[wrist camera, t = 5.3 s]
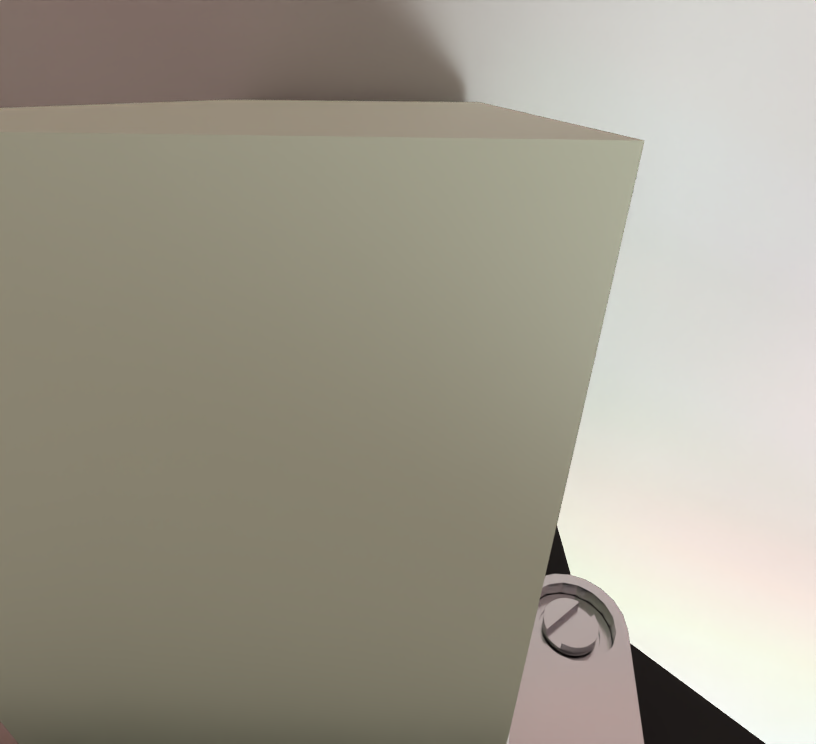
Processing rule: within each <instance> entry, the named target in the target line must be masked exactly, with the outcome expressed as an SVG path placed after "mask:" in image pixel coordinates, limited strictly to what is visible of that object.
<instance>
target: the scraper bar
mask: <svg viewBox="0 0 816 744" xmlns="http://www.w3.org/2000/svg"><path fill="white" fill-rule="evenodd" d="M643 145H644V140H640V139H636V138H631V137H627V136H623V135H618V134H614V133H610V132H605V131H601V130H597V129H592V128H588V127H584V126H580V125H575V124H571V123H567V122H562V121H558V120H554V119H549V118H545V117H541V116H536V115H532V114H528V113H524V112H519V111H515V110H511V109H506V108H502V107H498V106H493V105H489V104H485V103H481V102H421V101H326V100H232V99H228V100H201V101H173V102H146V103H118V104H91V105H63V106H36V107H9V108H0V722H1V723H2V724H3V725H4V726H5V728H6V729H7V730H8V731H9V733H10V734H11V735H12V736H13V738H14V739H15V740H16V741H17V742H18V744H507V740H508V736H509V732H510V727H511V723H512V718H513V714H514V710H515V705H516V701H517V697H518V692H519V688H520V683H521V679H522V675H523V670H524V666H525V662H526V657H527V653H528V648H529V644H530V640H531V635H532V631H533V626H534V622H535V618H536V613H537V609H538V605H539V600H540V596H541V591H542V587H543V583H544V578H545V574H546V570H547V565H548V561H549V556H550V552H551V548H552V543H553V539H554V535H555V530H556V526H557V521H558V517H559V513H560V508H561V504H562V500H563V495H564V491H565V486H566V482H567V478H568V473H569V469H570V465H571V460H572V456H573V451H574V447H575V443H576V438H577V434H578V429H579V425H580V421H581V416H582V412H583V408H584V403H585V399H586V394H587V390H588V386H589V381H590V377H591V373H592V368H593V364H594V359H595V355H596V351H597V346H598V342H599V338H600V333H601V329H602V324H603V320H604V316H605V311H606V307H607V303H608V298H609V294H610V289H611V285H612V281H613V276H614V272H615V267H616V263H617V259H618V254H619V250H620V246H621V241H622V237H623V232H624V228H625V224H626V219H627V215H628V211H629V206H630V202H631V197H632V193H633V189H634V184H635V180H636V176H637V171H638V167H639V162H640V158H641V154H642V149H643Z"/></svg>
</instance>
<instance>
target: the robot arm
mask: <svg viewBox="0 0 816 744" xmlns="http://www.w3.org/2000/svg"><path fill="white" fill-rule="evenodd" d="M0 744H18V742H17V741H16V740H15V739H14V738H13V736H12V735H11V734H10V733H9V731H8V730H7V729H6V728H5V726H4V725H3V724H2V723H1V722H0ZM507 744H765V743H764V742H763V741H761V740H760V739H759V738H757V737H756V736H755V735H753V734H752V733H750V732H749V731H748V730H746V729H745V728H744V727H742V726H741V725H740V724H738V723H737V722H736V721H734V720H733V719H732V718H730V717H729V716H728V715H726V714H725V713H723V712H722V711H721V710H719V709H718V708H717V707H715V706H714V705H713V704H711V703H710V702H709V701H707V700H706V699H705V698H703V697H702V696H700V695H699V694H698V693H696V692H695V691H694V690H692V689H691V688H690V687H688V686H687V685H686V684H684V683H683V682H682V681H680V680H679V679H678V678H676V677H675V676H673V675H672V674H671V673H669V672H668V671H667V670H665V669H664V668H663V667H661V666H660V665H659V664H657V663H656V662H655V661H653V660H652V659H651V658H649V657H648V656H646V655H645V654H644V653H642V652H641V651H640V650H638V649H637V648H636V647H634V646H633V645H632V644H630V640H629V633H628V629H627V625H626V622H625V619H624V616H623V614H622V612H621V611H620V609H619V608H618V606H617V605H616V603H615V602H614V600H613V599H612V598H611V597H609V596H608V595H607V594H606V593H605V592H604V591H603V590H602V589H601V588H599V587H598V586H596V585H594V584H592V583H591V582H589V581H587V580H585V579H582V578H579V577H576V576H572V575H570V571H569V567H568V564H567V560H566V557H565V553H564V549H563V546H562V542H561V539H560V535H559V532H558V528H557V526H556V530H555V535H554V539H553V543H552V548H551V552H550V556H549V561H548V565H547V570H546V574H545V578H544V583H543V587H542V591H541V596H540V600H539V605H538V609H537V613H536V618H535V622H534V626H533V631H532V635H531V640H530V644H529V648H528V653H527V657H526V662H525V666H524V670H523V675H522V679H521V683H520V688H519V692H518V697H517V701H516V705H515V710H514V714H513V718H512V723H511V727H510V732H509V736H508V740H507Z"/></svg>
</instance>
